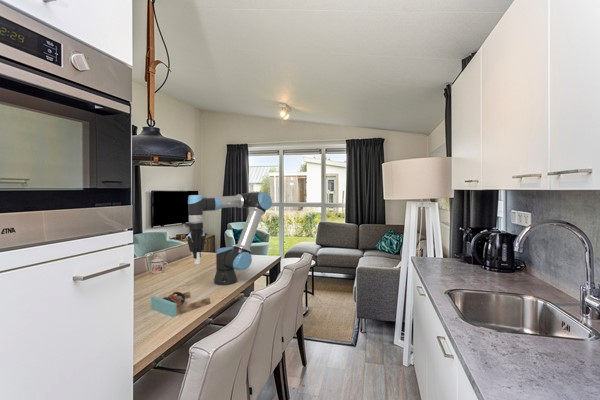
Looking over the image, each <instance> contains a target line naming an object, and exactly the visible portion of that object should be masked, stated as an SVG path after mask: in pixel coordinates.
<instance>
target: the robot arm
mask: <svg viewBox="0 0 600 400" xmlns="http://www.w3.org/2000/svg"><path fill="white" fill-rule="evenodd" d="M187 199H188V200H187V204H188V222H189V223H188V229H189V232H188V235H185V239H186V241H187V244H188V248H189V252H191V253H192V255H193V259H194V264H195V265H200V264H201V257H202V256H201V253H202V252H203V251H204V248H205V243H206V237H207V235H208V233H206V232H204V230H203V229H204V222H203V221H204V215H203V214H204V212H209V211H210V212H211V211H212V212H213V211H219V210H220V209H224V208H238V209H241V208H242V209H248V210H249V212H248V214H247V218H246V221H245V223H244V226H243V228H242V231H241V233H240V236H239V239H238V240H237V241H238V242H237V244H234V246H226V247H221V248H217V249H216V253H215V259H216V260H215V262H216V263H215V265H216V272H215V275H214V278H213V284H214V285H218V286H228V285H233V284H236V283H237V281H238V278H237V274H236V271H246V270H247V269H249V267H250V266H251V264H252V260H253V258H252V255H251V254H252V253H251V252H252V251H251V246H252V243H253V241H254V238H255V236H256V233H257V230H258V227H259V224H260V221H261V218H262V216H263V215H265V213H266V212H267V210H269V209H271V207H272V204H273V200H272V197H271V195H270V194H269V193H268V192H262V191H260V192H257V191H256V192H254V191H251V192H247V193H238V194H236V195H227V196H226V195H225V196H209V197H208V196H207V197H203V195H202V194H191V195H188V197H187ZM235 270H236V271H235ZM235 282H236V283H235Z"/></svg>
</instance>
